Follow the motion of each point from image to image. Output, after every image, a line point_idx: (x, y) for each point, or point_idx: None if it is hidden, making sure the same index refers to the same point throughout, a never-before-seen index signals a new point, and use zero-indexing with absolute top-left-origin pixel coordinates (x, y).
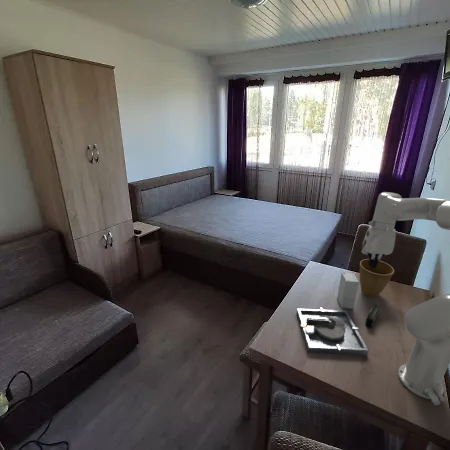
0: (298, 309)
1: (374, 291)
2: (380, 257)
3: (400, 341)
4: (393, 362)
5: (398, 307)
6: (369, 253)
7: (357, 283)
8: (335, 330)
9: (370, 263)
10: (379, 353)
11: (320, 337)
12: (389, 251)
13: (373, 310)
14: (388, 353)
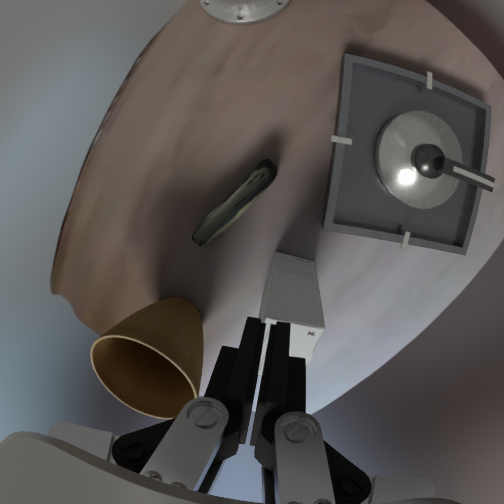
0: (464, 250)
1: (174, 305)
2: (185, 423)
3: (202, 103)
4: (275, 34)
5: (128, 248)
6: (355, 494)
7: (272, 312)
8: (418, 135)
9: (302, 370)
10: (298, 61)
11: None
12: (28, 477)
13: (231, 209)
14: (270, 60)
